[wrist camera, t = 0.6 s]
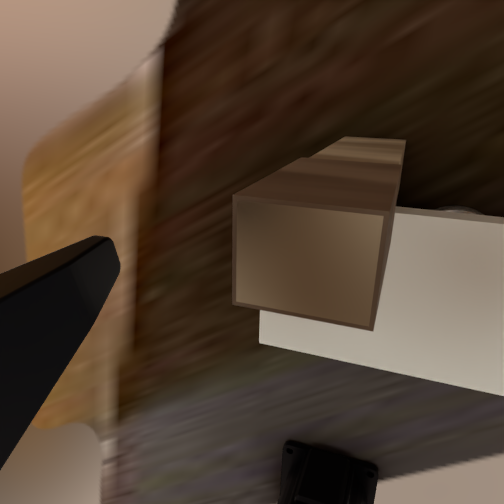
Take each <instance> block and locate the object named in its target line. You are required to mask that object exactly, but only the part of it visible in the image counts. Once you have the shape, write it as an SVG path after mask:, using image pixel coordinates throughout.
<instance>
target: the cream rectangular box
mask: <svg viewBox="0 0 504 504" xmlns="http://www.w3.org/2000/svg"><path fill="white" fill-rule="evenodd" d="M259 343H262V344H267V345H271V346H276V347H280V348H285V349H290V350H294V351H299V352H303V353H308V354H313V355H317V356H322V357H326V358H331V359H336V360H340V361H345V362H349V363H354V364H359V365H363V366H368V367H372V368H377V369H381V370H386V371H391V372H395V373H400V374H404V375H409V376H414V377H418V378H423V379H427V380H432V381H437V382H441V383H446V384H450V385H455V386H460V387H464V388H469V389H473V390H478V391H483V392H487V393H492V394H496V395H501V396H504V217H496V216H486V215H476V214H466V213H457V212H447V211H437V210H427V209H417V208H407V207H398V206H396V209H395V216H394V223H393V230H392V237H391V244H390V249H389V254H388V259H387V264H386V269H385V274H384V279H383V285H382V290H381V295H380V300H379V305H378V310H377V315H376V320H375V325H374V331H367V330H362V329H357V328H352V327H346V326H341V325H336V324H331V323H326V322H320V321H315V320H310V319H305V318H300V317H294V316H289V315H284V314H279V313H274V312H268V311H263V310H260V329H259Z"/></svg>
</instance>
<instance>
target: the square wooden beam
mask: <svg viewBox="0 0 504 504" xmlns="http://www.w3.org/2000/svg"><path fill="white" fill-rule="evenodd" d="M405 144H406V140H401V139H383V138H365V137H346V136H345V137H343V138H342V139H340V140H338V141H337V142H335V143H333V144H332V145H330V146H328V147H326V148H325V149H323V150H321V151H320V152H318V153H316V154H314V155H313V156H311V157H309V158H303V157H301V158H299V159H297V160H296V161H294V162H292V163H290V164H288V165H286V166H285V167H283V168H281V169H279V170H277V171H276V172H274V173H272V174H270V175H268V176H266V177H265V178H263V179H261V180H259V181H257V182H255V183H254V184H252V185H250V186H248V187H246V188H244V189H243V190H241V191H239V192H237V193H235V194H233V230H232V305H237V306H242V307H248V308H253V309H258V310H263V311H268V312H274V313H279V314H284V315H289V316H294V317H300V318H305V319H310V320H315V321H320V322H326V323H331V324H336V325H341V326H346V327H352V328H357V329H362V330H367V331H374V325H375V320H376V315H377V310H378V305H379V300H380V295H381V290H382V285H383V279H384V274H385V269H386V264H387V259H388V254H389V249H390V244H391V237H392V230H393V223H394V216H395V209H396V202H397V196H398V191H399V186H400V179H401V172H402V165H403V158H404V151H405Z"/></svg>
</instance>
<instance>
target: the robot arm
mask: <svg viewBox="0 0 504 504" xmlns="http://www.w3.org/2000/svg"><path fill="white" fill-rule="evenodd" d="M119 273H120V261H119V258H118V255H117V252H116V249H115V246H114V243H113V241H112V240H111V239H110V238H109V237H104V236H91V237H89V238H86V239H84V240H81V241H79V242H77V243H74V244H72V245H69V246H67V247H64V248H62V249H60V250H57V251H55V252H52V253H50V254H47V255H45V256H43V257H40V258H38V259H35V260H33V261H30V262H28V263H26V264H23V265H21V266H18V267H16V268H14V269H11V270H9V271H6V272H4V273H1V274H0V470H1V468H2V467H3V465H4V464H5V462H6V461H7V459H8V457H9V456H10V454H11V453H12V451H13V450H14V448H15V446H16V445H17V443H18V442H19V440H20V438H21V437H22V435H23V434H24V432H25V431H26V429H27V428H28V426H29V425H30V423H31V421H32V420H33V418H34V417H35V415H36V414H37V412H38V411H39V409H40V407H41V406H42V404H43V403H44V401H45V400H46V398H47V396H48V395H49V393H50V392H51V390H52V389H53V387H54V386H55V384H56V382H57V381H58V379H59V378H60V376H61V375H62V373H63V371H64V370H65V368H66V367H67V365H68V364H69V362H70V361H71V359H72V357H73V356H74V354H75V353H76V351H77V350H78V348H79V346H80V345H81V343H82V342H83V340H84V339H85V337H86V336H87V334H88V332H89V331H90V329H91V327H92V326H93V324H94V322H95V320H96V319H97V317H98V315H99V313H100V311H101V309H102V307H103V305H104V303H105V301H106V299H107V297H108V295H109V293H110V291H111V289H112V287H113V285H114V283H115V281H116V279H117V277H118V275H119ZM289 448H291V449H292V450H291V449H289ZM370 472H372V473H370ZM378 473H379V471H378V468H377V467H376V466H375V465H372V464H369V463H366V462H362V461H359V460H355V459H352V458H348V457H345V456H341V455H338V454H334V453H331V452H327V451H324V450H320V449H317V448H313V447H310V446H306V445H303V444H299V443H296V442H292V441H287V442H286V443H285V444H284V447H283V455H282V472H281V489H280V498H279V501H278V503H277V504H374V499H375V493H376V487H377V480H378Z"/></svg>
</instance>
